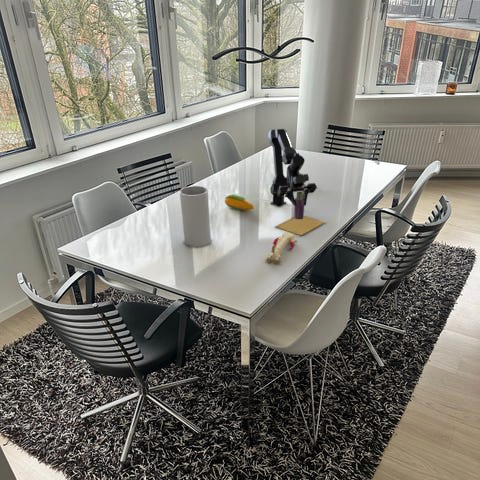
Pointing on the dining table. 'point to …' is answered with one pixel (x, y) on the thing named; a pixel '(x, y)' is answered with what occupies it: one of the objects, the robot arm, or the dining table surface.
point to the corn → (238, 203)
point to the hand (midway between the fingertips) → (300, 205)
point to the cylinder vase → (195, 215)
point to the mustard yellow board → (300, 225)
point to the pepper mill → (299, 206)
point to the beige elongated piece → (281, 246)
